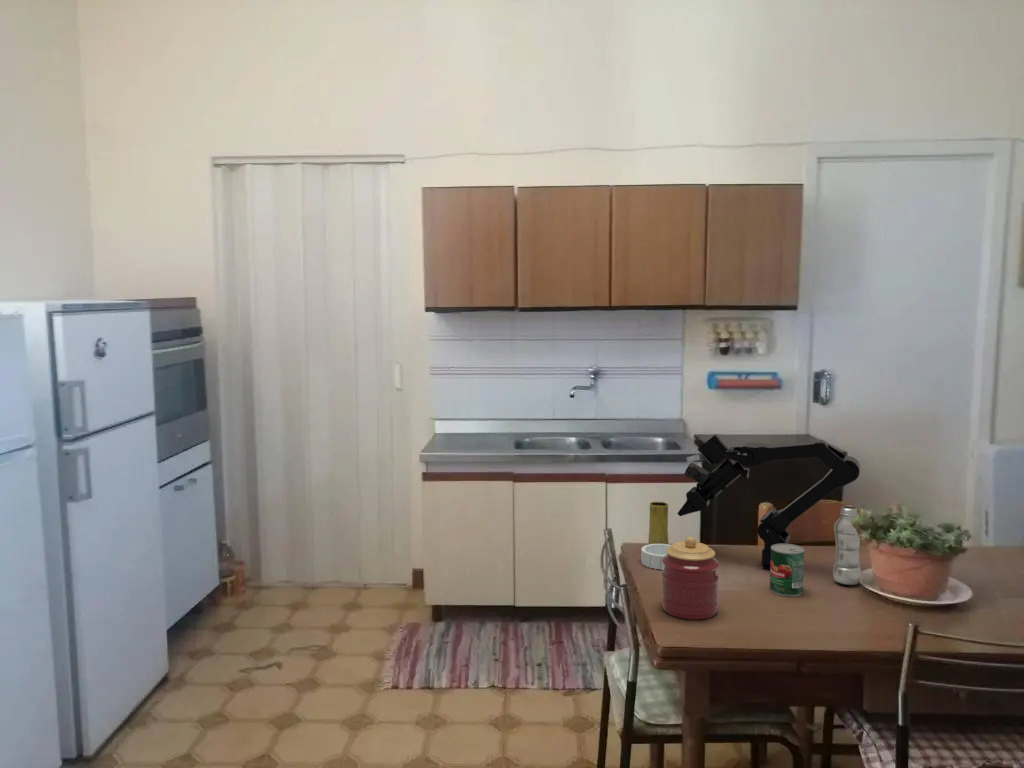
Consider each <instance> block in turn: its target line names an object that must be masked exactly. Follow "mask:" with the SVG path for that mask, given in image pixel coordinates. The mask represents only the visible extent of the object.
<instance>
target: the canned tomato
mask: <svg viewBox="0 0 1024 768" xmlns="http://www.w3.org/2000/svg"><path fill="white" fill-rule="evenodd" d="M804 558H805V549H804V547H802V546H801V545H800V546H799V545H797V544H792V543H787V544H774V545H772V546H771V565H770V569H769V570H770V572H769V590H770V592H772V593H773V594H776V595H778V596H783V597H798V596H801V595H803V593H804V592H803V589H804V588H803V587H804V561H805V560H804Z"/></svg>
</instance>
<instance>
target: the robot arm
mask: <svg viewBox="0 0 1024 768" xmlns="http://www.w3.org/2000/svg"><path fill="white" fill-rule="evenodd" d="M696 451H698V452H699V454H701V456H702V457H704V459H705V460H706V461H707V462H708V463H709V464H710V465H714V464H715V465H716V466H717V465H718V464H719V463H720V462H721V461H722V463H721V464H719V465H718V466H717V467H716V468H714V469H711V470H710V471H708V470H706V469H705V468H703V467H701V466H700V465H698V464H696V463H694V462H690V463H689V464H688V465H687V467H686V469H685V472H684V473H683V474H684V476H685V477H686V478H689V479H692V480H693V481H695V482H697V483H696V486H693V487H692V488H691V489H689V490H688V491H687V492H686V494H685V496H686V500H685V502H684V504H683V505H682V507H681V508H680V509H679V510H678V512H677V515H678V516H679V517H682V516H686V515H690V514H693V513H696V512H701V511H703V510H705V509H706V508H707V507H708V506H709V505H710V501H713V500H714V499H715V498H716V497H717V496H718V495H719V494H720V493H721V492H723V491H724V490H726V488H728V487H729V485H732V483H733V482H735V481H736V480H737V479H738V478H739V477H740V476H741V477H742V478H743V479H744V480H748V478H749V477H750V470H751V469H750V467H753V466H754V467H755V466H756V465H761V464H764V463H767V462H770V461H778V460H788V459H799V458H812V457H813V458H814V457H816V458H818V459H819V460H821V461H822V462H823V463H824V464H825V465H826V466H827V467H828V468H830V470H829V471H828V472H827V473H826V474H825V476H824V477H823V478H822V479H820V480H819V481H817V482H816V483H815V484H813V485H812V486H811V487H810V488H808V489H807V490H806V491H805V492H803V493H802V494H801V495H800V496H798V497H797V498H795V499H794V500H793V501H792V502H791V503H789V504H788V505H787V506H785V507H784V508H782V509H779V510H777V509H776V507H773V508H772V509H770V511H768V512H767V513H766V514H763V515H762V516H761V519H760V520H759V525H758V527H757V535H758V536H759V538H760V539H761V540H762V541H763V544H764V545H763V548H762V550H761V564H762V569H765V570H770V565H771V546H772V545H774V544H788V542H789V540H790V538H791V535H790V533H789V532H788V531H787V530H786V529H787V528H788V527H789V526H790V525H791V524H792V523H793V521H794V520H796V519H797V518H798V517H800V516H801V515H802V514H803V513H805V512H806V511H808V510H809V509H810V508H812V507H813V506H814V505H815V504H817V503H819V502H820V501H821V500H822V499H823V498H824V497H826V496H828V495H829V494H830V493H831V492H833V491H835V490H838V489H840V488H843V487H845V486H846V485H849V484H851V483H853V482H855V481H856V480H857V479H858V478H859V475H860V471H861V465H860V462H859V460H858V459H857V458H855V457H854V456H849V455H846V454H844V453H843V452H842V451H840V450H838V449H837V448H835V447H834V446H832V445H830V444H829V443H827V441H825V440H823V439H817V440H813V441H802V442H794V443H780V444H765V443H758V442H746V443H744V444H742V445H741V446H729V447H728V446H727V445H726V444H725V443H724V441H722V439H721V438H720V437H719V435H717V434H714V435H712V437H710V438H709V439H707V440H706V441H705V442H703V444H701V445H700V446H699V447H698V448H697V450H696ZM724 459H725V460H724ZM723 460H724V461H723ZM746 467H747V468H746Z"/></svg>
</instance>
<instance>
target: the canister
mask: <svg viewBox="0 0 1024 768" xmlns="http://www.w3.org/2000/svg"><path fill="white" fill-rule="evenodd" d="M671 545H672V546H670V547H668V548H667V549H666V553H667V555H666V556H664V557H663V559H662V562H663V564H664V570H662V572H661V576H662V596H661V604H662V609H663V610H664V612H665V613H667V614H668V615H671V616H673V617H676V618H679V619H684V620H692V621H693V620H696V621H697V620H705V619H706V620H707V619H710V618H712V617H714V616H715V615H716V614H717V612H718V608H719V600H718V591H719V590H718V589H719V588H718V587H719V586H718V583H719V582H718V581H719V578H720V577H719V575H718V573H717V568H718V567H719V565H720V563H719V561H718V560H717V559H716V558H715V555H716V551H715V550H714V549H712V548H711V547H709V545H707V544H705V543H701V542H700V541H699V542H698V541H697V540H696V538H695V537H693V536H687V537H686V538H685V539H684V541H677V542H674V543H673V544H671Z"/></svg>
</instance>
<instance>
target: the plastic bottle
mask: <svg viewBox="0 0 1024 768" xmlns="http://www.w3.org/2000/svg"><path fill="white" fill-rule="evenodd" d="M857 512H858V507H856V506H853V505H842V506H840V512H839V514H840V516H839V518H838V519H837V520H836V522H835V523H834V526H833V530H834V538H835V556H834V557H835V559H834V564H833V569H832V575H833V576H832V577H833V579H834V581H835V582H836V583H838V584H841V585H846V586H847V585H848V586H856V585H857V584H859V583H860V581H861V578H862V572H861V566H860V545H861V539H860V538H859V536H858V533H857V531H856V529H855V528H854V527H853V526H852V523H851V520H852V518H853V517H854V516H856V515H858V513H857ZM856 517H857V516H856Z"/></svg>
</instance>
